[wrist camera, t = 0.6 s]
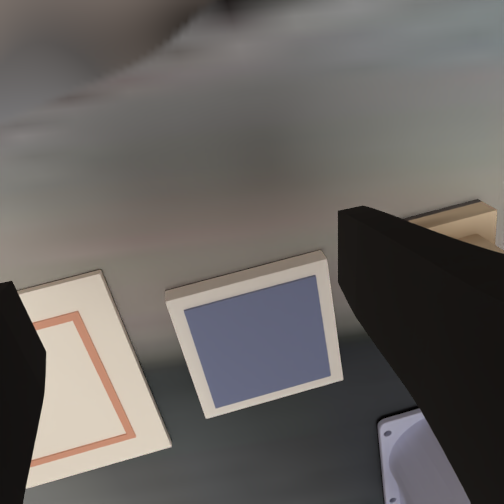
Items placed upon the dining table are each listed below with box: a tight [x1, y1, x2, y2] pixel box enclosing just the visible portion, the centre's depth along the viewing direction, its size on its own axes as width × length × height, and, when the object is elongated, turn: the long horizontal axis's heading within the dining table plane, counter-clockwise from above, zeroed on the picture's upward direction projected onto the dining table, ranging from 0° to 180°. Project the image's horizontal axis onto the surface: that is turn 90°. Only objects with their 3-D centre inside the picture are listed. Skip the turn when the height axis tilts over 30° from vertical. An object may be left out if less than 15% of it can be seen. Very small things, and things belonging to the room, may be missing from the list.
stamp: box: [404, 199, 504, 254], centre depth 21 cm, size 5×5×7 cm
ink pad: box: [165, 250, 343, 419], centre depth 24 cm, size 8×8×1 cm
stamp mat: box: [17, 270, 172, 489], centre depth 23 cm, size 12×12×1 cm
